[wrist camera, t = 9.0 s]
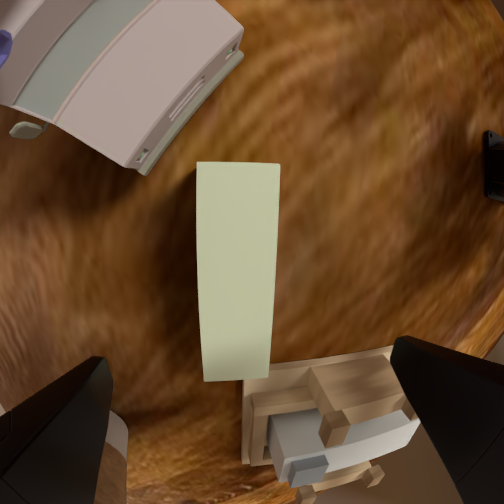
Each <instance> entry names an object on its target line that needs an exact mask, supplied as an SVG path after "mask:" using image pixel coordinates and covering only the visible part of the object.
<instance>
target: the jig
mask: <svg viewBox="0 0 504 504" xmlns="http://www.w3.org/2000/svg"><path fill="white" fill-rule="evenodd" d="M393 346H394V345H391V346H387V347H382V348H377V349H372V350H367V351H362V352H356V353H350V354H344V355H338V356H332V357H325V358H318V359H310V360H302V361H294V362H285V363H274V364H269V374H268V378H258V379H245V380H243V389H242V439H241V460H242V464H250V466H260V465H268V464H273V461H272V457H271V454H270V450H269V447H268V443H267V440H266V436H267V428H268V419H269V415H274V414H282V413H289V412H296V411H302V410H308V409H314V408H318V410H319V412H320V414H321V416H322V422H321V425H320V428H319V432H318V434H319V436H320V438H321V441H322V443H323V445H324V447H325V448H329V447H333V446H337V445H341V444H343V442H344V440H345V438H346V435H347V433H348V431H349V428H350V426H351V425H354V424H357V423H361V422H364V421H368V420H371V419H374V418H377V417H381V416H384V415H387V414H390V413H393V412H396V411H398V410H402V411H403V413H404V414H405V415H406V416H407V418H408V419H409V420H410V421H412V420H415V419H417V418H418V417H417V415H416V413H415V412H414V410H413V408H412V406H411V405H410V403H409V401H408V400H407V398H406V396H405V394H404V392H403V390H402V387H401V385H400V383H399V381H398V379H397V377H396V375H395V373H394V370H393V368H392V366H391V364H390V355H391V352H392V349H393ZM383 476H384V473H383V471H382V469H381V468H380V466H379V465H376V466H373V467H372V466H371V464H370V463H369V461H365V462H362V463H359V464H356V465H352V466H349V467H346V468H342V469H339V470H335V471H332V472H328V473H325V474H324V476H323V478H322V480H321V482H317V483H312V484H308V485H303V486H300V487H299V488H298V490H297V493H296V495H295V497H296V500H297V503H298V504H313V502H314V501H315V499H316V497H317V496H316V493H315V492H316V491H320V490H324V489H328V488H331V487H335V486H338V485H342V484H345V483H348V482H351V481H355V480H358V479H360V478H362V480H363V482H364V484H365V485H366V487H367V488H368V487H371V486H374V485H376V484H378V483H379V481H380V480H381V479H382V477H383Z"/></svg>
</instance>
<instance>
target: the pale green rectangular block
mask: <svg viewBox="0 0 504 504" xmlns="http://www.w3.org/2000/svg"><path fill="white" fill-rule="evenodd" d="M279 186H280V164H271V163H245V162H197V179H196V233H197V275H198V299H199V319H200V335H201V350H202V363H203V375H204V381H229V380H245V379H258V378H268V374H269V361H270V348H271V334H272V320H273V305H274V289H275V272H276V253H277V233H278V211H279Z"/></svg>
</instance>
